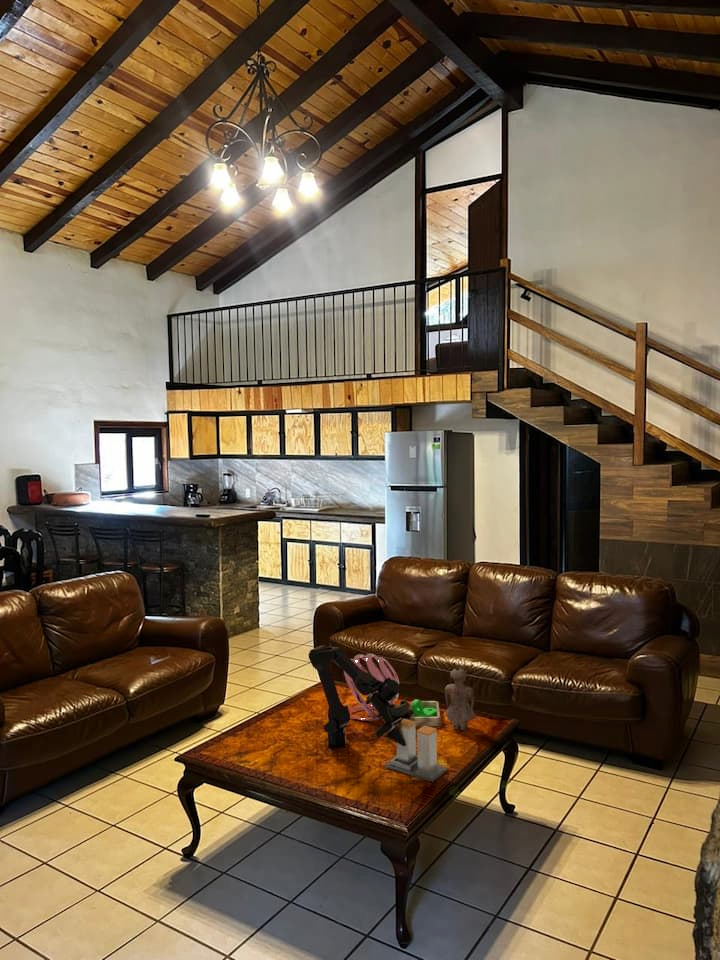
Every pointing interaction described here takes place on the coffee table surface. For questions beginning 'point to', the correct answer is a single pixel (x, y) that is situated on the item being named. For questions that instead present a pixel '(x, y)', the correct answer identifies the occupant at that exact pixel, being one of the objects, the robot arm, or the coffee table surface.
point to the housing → (422, 757)
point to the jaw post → (407, 742)
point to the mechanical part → (419, 711)
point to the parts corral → (428, 720)
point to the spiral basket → (377, 675)
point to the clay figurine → (459, 700)
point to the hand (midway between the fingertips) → (408, 743)
